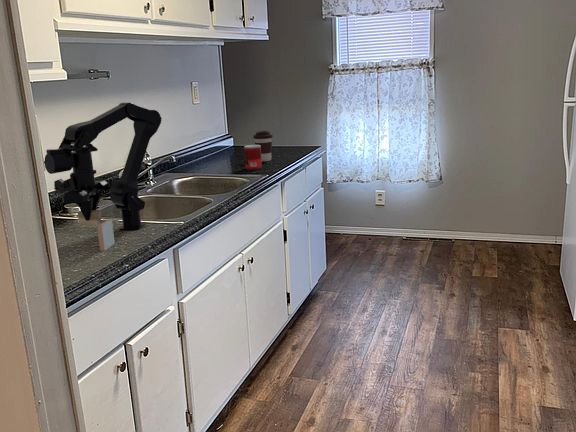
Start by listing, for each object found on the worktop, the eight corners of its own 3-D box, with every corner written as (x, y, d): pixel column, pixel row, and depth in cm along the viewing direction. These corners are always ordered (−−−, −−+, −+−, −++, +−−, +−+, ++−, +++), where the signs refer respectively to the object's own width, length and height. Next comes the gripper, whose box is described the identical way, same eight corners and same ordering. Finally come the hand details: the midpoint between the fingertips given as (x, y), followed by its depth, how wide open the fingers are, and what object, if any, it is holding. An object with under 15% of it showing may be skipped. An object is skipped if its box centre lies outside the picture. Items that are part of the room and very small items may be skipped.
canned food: (265, 167, 284) (263, 145, 281) (253, 170, 279) (251, 147, 276) (254, 166, 289) (253, 144, 287) (242, 168, 284) (240, 146, 281)
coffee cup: (271, 162, 299) (270, 132, 295) (252, 162, 301) (251, 133, 297) (275, 158, 309) (274, 130, 305) (257, 159, 310) (255, 130, 307)
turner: (84, 222, 180) (82, 209, 178) (119, 221, 178) (117, 208, 177) (77, 226, 175) (75, 213, 174) (112, 226, 173) (111, 213, 172)
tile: (109, 243, 173) (106, 220, 171) (114, 243, 173) (111, 220, 171) (100, 250, 166) (96, 227, 164) (105, 250, 166) (102, 226, 164)
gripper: (71, 163, 182) (78, 211, 186) (41, 174, 164) (49, 228, 168) (105, 162, 181) (111, 211, 185) (78, 173, 163) (86, 227, 167)
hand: (89, 219), depth 176 cm, fingers closed on turner, 3 cm apart
